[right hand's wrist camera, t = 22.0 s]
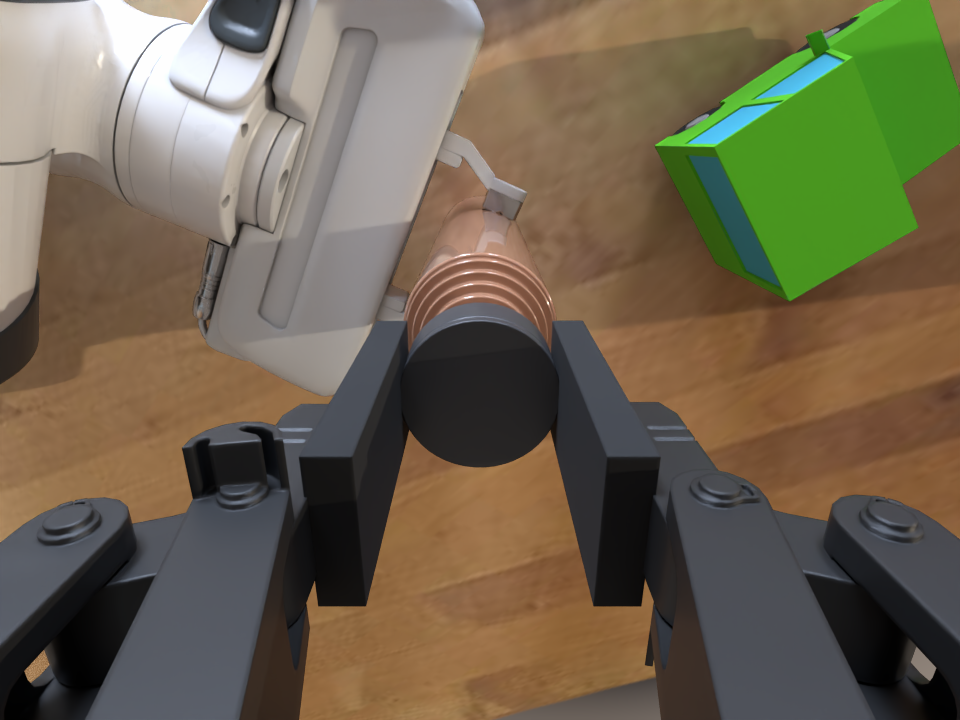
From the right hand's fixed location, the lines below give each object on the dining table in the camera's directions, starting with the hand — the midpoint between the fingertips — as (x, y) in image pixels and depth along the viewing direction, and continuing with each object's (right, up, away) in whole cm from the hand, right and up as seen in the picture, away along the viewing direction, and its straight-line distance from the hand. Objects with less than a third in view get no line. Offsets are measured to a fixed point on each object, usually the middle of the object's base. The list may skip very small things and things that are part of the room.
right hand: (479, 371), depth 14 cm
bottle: (0, +8, +21) cm, 23 cm away
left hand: (+1, +5, +15) cm, 16 cm away
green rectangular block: (+18, +13, +19) cm, 29 cm away
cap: (0, 0, -1) cm, 1 cm away
